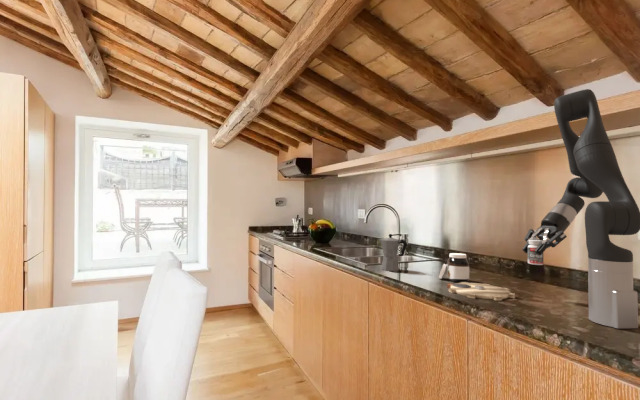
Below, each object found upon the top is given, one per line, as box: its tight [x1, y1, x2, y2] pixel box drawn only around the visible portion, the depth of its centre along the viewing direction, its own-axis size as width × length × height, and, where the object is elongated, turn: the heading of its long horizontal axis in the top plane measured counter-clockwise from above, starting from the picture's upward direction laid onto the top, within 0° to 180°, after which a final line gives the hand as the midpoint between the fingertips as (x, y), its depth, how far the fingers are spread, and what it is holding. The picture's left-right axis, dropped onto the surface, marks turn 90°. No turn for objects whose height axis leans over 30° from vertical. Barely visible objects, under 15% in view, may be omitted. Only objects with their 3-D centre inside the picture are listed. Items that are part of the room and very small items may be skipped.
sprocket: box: [446, 281, 516, 301], centre depth 121 cm, size 23×23×2 cm
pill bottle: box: [527, 240, 545, 266], centre depth 115 cm, size 5×5×8 cm
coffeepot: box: [378, 233, 408, 272], centre depth 165 cm, size 15×9×18 cm, turn 51°
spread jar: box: [438, 252, 470, 283], centre depth 141 cm, size 12×11×12 cm
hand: (530, 252), depth 115 cm, fingers closed on pill bottle, 4 cm apart
